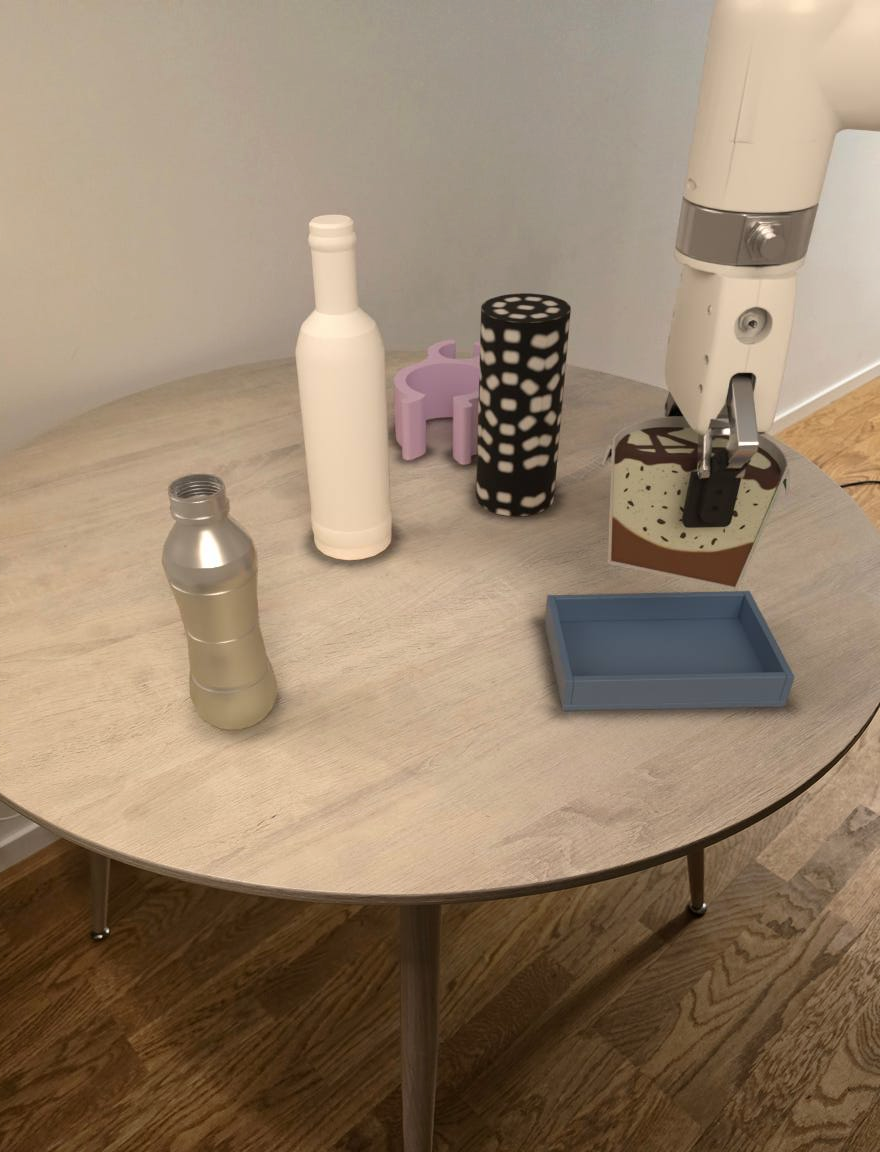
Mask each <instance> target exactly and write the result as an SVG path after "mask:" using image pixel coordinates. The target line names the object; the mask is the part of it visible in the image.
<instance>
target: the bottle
mask: <svg viewBox="0 0 880 1152" xmlns="http://www.w3.org/2000/svg"><path fill="white" fill-rule="evenodd" d="M308 231H309V233H308V237H307V243H308V245H309V248H310V254H311V267H312V268H311V269H312V281H313V290H314V303H315V308H314V310H312V312H311V313H310V314H309V315H308V317H306V319H305V320H304V321H303V322H302V324H301V326H300V329H299V332H298V336H297V341H296V342H297V343H296V346H295V351H294V353H295V363H296V373H297V382H298V393H299V402H300V403H299V405H300V412H301V413H300V414H301V423H302V434H303V440H304V441H303V442H304V452H305V453H304V454H305V461H306V463H305V464H306V472H307V483H308V492H309V501H310V511H311V515H310V523H311V530H312V533H313V541H314V545H315V547H316V549H317V550H318V551H320V552H321V553H322V554H323V555H325V556H328V557H330V558H333V559H336V560H344V561H360V560H365V559H369V558H372V557H375V556H376V555H379V554H380V553H382V552H383V551H385V550H386V549H387V548H388V547H389V545H390V544H391V542H392V536H393V535H392V533H393V532H392V527H393V512H392V510H393V509H392V506H391V484H390V483H391V480H390V456H389V455H390V454H389V428H388V427H389V425H388V402H387V400H388V399H387V374H386V350H385V349H386V348H385V347H386V346H385V344H384V340H383V338H382V335H381V332H380V329H379V327H378V325H377V322H376V321H375V320H374V319H373V318H372V316H370V315H369V314H368V313H367V312H366V311H365V310H364V309H363V308H361V307H360V305H359V291H358V273H357V271H358V269H357V255H356V254H357V253H356V252H357V251H356V244H357V242H358V237H357V236H358V235H357V233H356V231H355V221H354V220H353V219H352V218H351V217H350V216H347V215H345V214H323V215H319V216H315V217H314V218H312V219H311V220H310V221H309V223H308Z"/></svg>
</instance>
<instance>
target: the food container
mask: <svg viewBox="0 0 880 1152" xmlns="http://www.w3.org/2000/svg"><path fill="white" fill-rule="evenodd" d="M710 427H711V428H712V427H729V421H728V422H727V421H724V420H720V419H711V421H710ZM758 439H759V446H758V450H757V452H756V453H755V454H754V456H753V457H752V458H751V461H750V463H749V464H748V466H747V468H746V471H745V475H744V477H743V478H741V482H740V486H739V491H738V495H737V499H736V503H735V507H734V512H733V516H732V520H731V523H730V525H728V526H727V527H703V528H686V527H685V526H684V525H683V522H682V515H683V510H684V505H685V500H686V495H687V490H688V485H689V479H690V474H691V471H697V461H698V433H697V432H695V431H694V430H693V429H692V428H691V427H690V425H689V424H688V422H687V421H686V419H685V417H684V416H672V417H665V416H660V417H659V416H658V417H653V418H647V419H642V420H638V421H637V422H634V423H630V424H629V425H627V426H625V427H623V428H621V429H620V430H619V431H618V432H617V433H615V435H614V436H613V438H612V440H611V442H610V443H609V444H608V446H607V448H606V451H605V454H604V457H603V459H602V462H601V464H602V465H605V464H606V463H607V461H608V460H609V459H611V460H610V461H611V463H610V486H609V487H610V489H609V512H608V542H607V565H612V566H616V567H621V568H626V569H630V570H634V571H635V570H636V571H640V572H645V573H650V574H654V575H659V576H663V577H667V578H673V579H677V580H682V581H687V582H692V583H696V584H701V585H706V586H710V587H714V588H715V587H716V588H721V589H724V590H728V591H739V588H740V586H741V584H742V581H743V578H744V577H745V574H746V571H747V569H748V566H749V564H750V562H751V559H752V557H753V555H754V552H755V551H756V548H757V545H758V543H759V540H760V538H761V536H762V533H763V531H764V528H765V526H766V525H767V521H768V519H769V517H770V514H771V512H772V510H773V508H774V504H775V503H776V500H777V498H778V496H779V493H780V491H781V488H782V486H783V487H784V489H785V490H784V491H785V497H787V498H788V497H789V496H790V479H791V478H790V477H791V475H790V468H789V461H788V458H787V455H786V454H785V452H784V451H783V449H782V448H781V447H779V445H777V443H775V442H774V441H772V440H771V439H770V438H768V437H767V436H764V434H758ZM728 441H729V438H712V455H711V457H712V456H713V455H714V454H715V453H716V452H717V451H718V450H720V449H726V447H727V446H726V444H727V443H728Z"/></svg>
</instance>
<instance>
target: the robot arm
mask: <svg viewBox="0 0 880 1152" xmlns="http://www.w3.org/2000/svg"><path fill="white" fill-rule="evenodd" d="M710 17H711V18H710V23H709V28H708V33H707V40H706V46H705V54H704V60H703V66H702V72H701V79H700V85H699V91H698V98H697V105H696V110H695V117H694V123H693V130H692V136H691V143H690V148H689V149H690V150H689V156H688V162H687V166H686V167H687V168H686V173H685V174H686V175H685V181H684V182H685V183H684V187H683V196H682V198H681V199H682V200H681V206H680V211H679V212H680V213H679V218H678V226H677V231H676V238H675V246H674V252H673V257H674V259H675V260H676V261H677V262H678V263H680V264H681V265H683V266H682V270H681V274H680V280H679V283H678V288H677V293H676V298H675V303H674V308H673V313H672V318H671V324H670V328H669V334H668V340H667V345H666V354H665V363H664V364H665V365H664V380H665V384H666V387H667V390H668V391H669V393H668V395H667V397H666V400H665V403H664V409H663V410H664V411H663V412H664V414H663V415H664V417H672V416H684V417H685V419H686V421H687V422H688V424H689V425H690V427H691V428H692V429H693V430H694V431H695V432H697V433H698V461H697V471H691V474H690V479H689V485H688V490H687V495H686V500H685V505H684V510H683V515H682V522H683V525H684V526H685V527H686V528H703V527H727V526H728V525H730V523H731V520H732V516H733V512H734V507H735V503H736V499H737V495H738V491H739V486H740V482H741V478H743V477H744V475H745V471H746V468H747V466H748V464H749V463H750V461H751V458H752V457H753V456H754V454H755V453H756V452H757V450H758V446H759V439H758V434H761V435H767V434H768V433H769V432H770V431H771V429H772V427H773V426H774V422H775V417H776V414H777V408H778V404H779V399H780V395H781V390H782V384H783V381H784V374H785V370H786V364H787V359H788V354H789V349H790V342H791V337H792V331H793V323H794V316H795V308H796V307H795V306H796V299H797V298H796V297H797V282H798V273H797V272H796V271H797V270H799V269H800V268H802V267H803V266H804V264H805V261H806V257H807V253H808V249H809V246H810V242H811V237H812V233H813V229H814V225H815V221H816V217H817V212H818V208H819V203H820V201H821V196H822V193H823V192H822V191H823V188H824V184H825V181H826V176H827V172H828V168H829V163H830V160H831V155H832V151H833V147H834V143H835V139H836V135H837V134H838V133H840V132H842V131H845V130H853V131H854V130H855V131H868V132H879V133H880V0H716V1H715V3H714V6H713V8H712V13H711V16H710ZM711 419H714V420H720V419H728V423H729V427H712V428H711V427H710V421H711ZM712 438H729V441H728V443H727V444H726V446H727V447H726V449H720V450H718V451H717V452H716V453H715V454H714V455H713V456H712V457H711V455H712Z"/></svg>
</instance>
